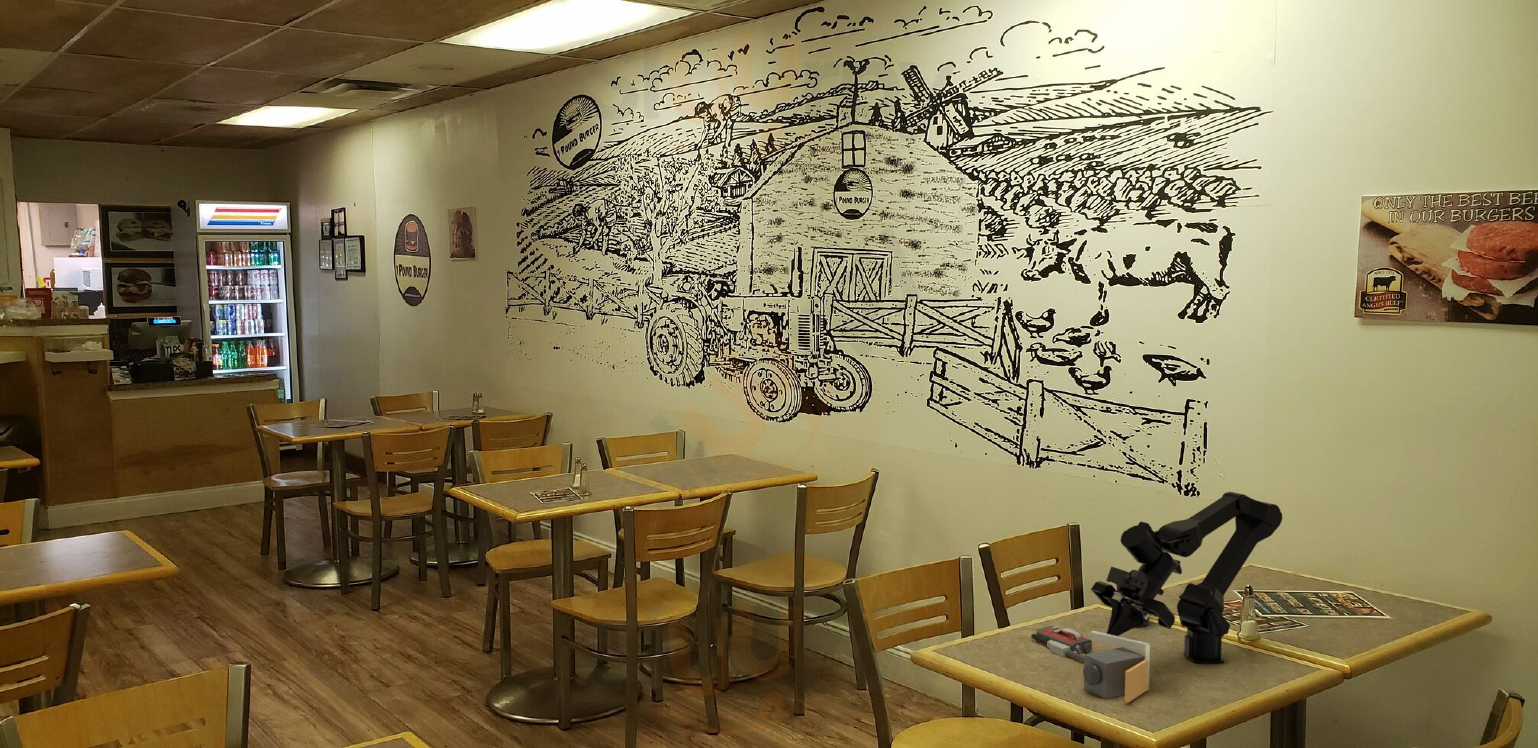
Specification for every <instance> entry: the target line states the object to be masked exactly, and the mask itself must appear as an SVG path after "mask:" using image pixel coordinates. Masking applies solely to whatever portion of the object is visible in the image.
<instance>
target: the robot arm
mask: <svg viewBox="0 0 1538 748" xmlns="http://www.w3.org/2000/svg"><path fill="white" fill-rule="evenodd" d="M1233 519H1234V520H1235V522H1234V523H1235V530H1234V532H1233V534H1232V535H1231V537H1230V539H1229V540H1228V541H1227V543H1226V544H1225V546H1224V548H1223V550H1222V551H1221V553H1220V554H1219V555H1218V557H1217V558H1216V560H1215V562H1214V563H1213V565H1212V566H1211V567H1210V569H1209V571H1208V572H1207V574H1206V576H1205V577H1204V579H1203V580H1202V582H1200V583H1198V584H1195V583H1191V582H1189V583H1188V584H1187V585H1186V587H1185V588H1184V590H1183V591H1182V593H1181V594H1180V595H1179V596H1178V598H1179V599H1178V602H1177V604H1176V609H1177V614H1178V618H1179V621H1180V626H1181V627H1183V628H1187V630H1186V634H1185V635H1184V648H1183V649H1184V650H1182V651H1183V654H1184V655H1185V656H1186V657H1187V658H1188V659H1190V660H1191V662H1193V663H1195V664H1205V663H1206V664H1207V663H1208V664H1211V663H1214V664H1217V663H1218V664H1219V663H1225V661H1226V660H1225V659H1224V658H1222V640H1223V637H1224V636H1225V635H1228V634H1229V631H1230V627H1231V624H1230V623H1229V621H1228V620H1227V619H1226V618H1225V617H1224V615H1223V612H1224V610H1225V598H1224V597H1225V594H1226V592H1227V591H1228V590H1229V588H1230V586H1231V585H1232V583H1233V582H1234V580H1235V579H1236V577H1237V575H1238V574H1239V572H1240V571H1241V569H1242V568H1243V566H1244V565H1245V563H1246V562H1247V560H1248V558H1249V556H1250V555H1251V553H1252V552H1253V550H1254V549H1255V547H1256V546H1257V545H1258V543H1260V542H1262V541H1263V540H1265V539H1267V538H1269V537H1271V536H1272V535H1273V534H1274V533H1275V531H1277V529H1278V528H1279V527H1280V525H1281V523H1282V521H1283V513H1282V511H1281V509H1280V507H1279V506H1278V505H1277V504H1274V503H1270V502H1265V501H1260V500H1256V499H1254V498H1252V497H1249V496H1248V495H1246V494H1244V493H1238V492H1234V491H1227V492H1224V493H1223V494H1222V496H1221V497H1220V498H1218V499H1217V500H1216V501H1214V502H1212V503H1210V504H1209V505H1207V506H1206V507H1204V508H1203V509H1201V510H1200V511H1198V512H1196V513H1195V514H1193V515H1191V516H1190V517H1188V518H1186V519H1182V520H1175V521H1171V522H1169V523H1166V524H1164V525H1162V526H1161V527H1159V528H1158V530H1155V531H1154V530H1153V528H1152V527H1151V525H1150V524H1149V523H1148V522H1146V521H1139V523H1138V524H1137V525H1133V526H1131V527H1129V528H1127V529H1126V530H1124V531H1123V532H1122V534H1121V536H1120V543H1121V545H1122V546H1123V547H1124V548H1125V550H1126V551H1127V552H1128V553H1129V554H1130V556H1132V558H1133V559H1134V560H1135V561H1136V562H1137V563H1138V564H1141V565H1140V566H1139V568H1138V569H1132V570H1130V571H1126V570H1124V569H1121V568H1117V567H1113V566H1110V569H1109V571H1108V575H1107V577H1106V579H1105V581H1106V582H1107V583H1106V582H1104V581H1102V580H1100V581H1095V583H1094V584H1093V585H1092V587H1091V588H1090V591H1091V593H1093V594H1094V595H1095V596H1096V597H1097V599H1098V600H1099V601H1100V602H1101V603H1102V604H1103V605H1105V606H1106V607H1109V608H1111V614H1110V619H1109V622H1108V623H1109V624H1108V627H1107V631H1106V634H1110V635H1114V636H1119V637H1120V636H1121V635H1123V634H1126V633H1127V632H1128V631H1130V630H1133V629H1135V627H1138V626H1140V625H1142V624H1148V622H1147V619H1148V617H1149V616H1150V617H1151V616H1152V617H1155V618H1157V624H1158V626H1159V627H1163V628H1165V629H1169V630H1170V629H1171V628H1172V627H1173V625H1174V624H1175V621H1176V617H1175V614H1174V613H1173V612H1172V611H1171V610H1170V608H1169V607H1168V606H1167V605H1166V604H1165V603H1164V602H1162V601H1160V600H1158V599H1155V598H1156V596H1158V595H1159V596H1163V594H1164V593H1165V591H1164V590H1163V589H1162V588H1163V587H1164V585H1165V584H1166V582H1167V581H1168V580H1169V578H1170V576H1171V575H1172V574H1173V573H1174V574H1178V575H1181V574H1183V571H1182V566H1181V561H1180V560H1179V559H1175V558H1174V557H1173V556H1172V555H1175V556H1178V557H1183V558H1188V557H1191V556H1192V555H1193V554H1194V553H1195V552H1196V551H1198V549H1199V548H1200V547H1201V546H1202V545H1203V544H1202V543H1203V540H1204V539H1205V537H1207V536H1208V535H1211V533H1213V532H1214V531H1216V530H1217V529H1219V528H1221V527H1222V526H1224V525H1225V524H1226V523H1228V522H1229V521H1231V520H1233ZM1171 554H1172V555H1171ZM1110 583H1112V584H1115V585H1116V584H1117V585H1118V586H1117V587H1116V588H1115V587H1114V585H1112V584H1110ZM1117 588H1118V589H1119V591H1121V592H1122V594H1121V593H1118V592H1117ZM1127 601H1128V602H1127Z"/></svg>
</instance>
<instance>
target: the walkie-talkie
mask: <svg viewBox="0 0 1538 748" xmlns="http://www.w3.org/2000/svg"><path fill="white" fill-rule="evenodd" d="M1030 636H1031V639H1033V640H1034V641H1036V643H1037V644H1041V645H1042V644H1043V645H1042V646H1044V647H1047V648H1048V649H1049V651H1050V653H1053V654H1055V655H1057V656H1060V657H1063V658H1066V657H1072V658H1075V659H1077V660H1080V661H1082V662H1084V657H1085V655H1082V654H1090V653H1091V652H1092V651H1093V640H1091V638H1090V639H1089V638H1087V637H1084V636H1083V634H1082V633H1081V632H1080V631H1077V630H1074V629H1072V628H1068V627H1067V628H1060V626H1059V625H1056V626H1053V625H1049V626H1045V627H1041V628H1038V629H1036V633H1032V634H1031V635H1030Z"/></svg>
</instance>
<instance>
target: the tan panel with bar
mask: <svg viewBox="0 0 1538 748" xmlns="http://www.w3.org/2000/svg"><path fill="white" fill-rule="evenodd" d="M1090 640H1092V641H1093V642H1098V643H1102V644H1103V643H1104V644H1108V645H1111V646H1115V647H1118V648H1120V647H1124V648H1127V649H1129V650H1132V651H1137V652H1142V653H1145V655H1144V656H1145V660H1144V661H1142V662H1140V663H1139V664H1137V665H1135V666H1134V667H1132V668H1130V669H1129V670H1127V671H1125V695H1124V703H1130V702H1132V701H1133V700H1134V699H1136V698H1137V697H1139V696H1141V695H1142V694H1143V693H1145V692H1146V691H1147V692H1148V691H1150V665H1151V664H1150V663H1151V662H1150V658H1151V657H1150V656H1151V655H1150V654H1151V653H1150V652H1151V643H1149V642H1145V641H1140V640H1135V639H1133V638H1126V637H1123V636H1120V635H1119V636H1114V635H1110V634H1107V632H1106V633H1105V632H1100V631H1096V630H1092V631H1090Z"/></svg>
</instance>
